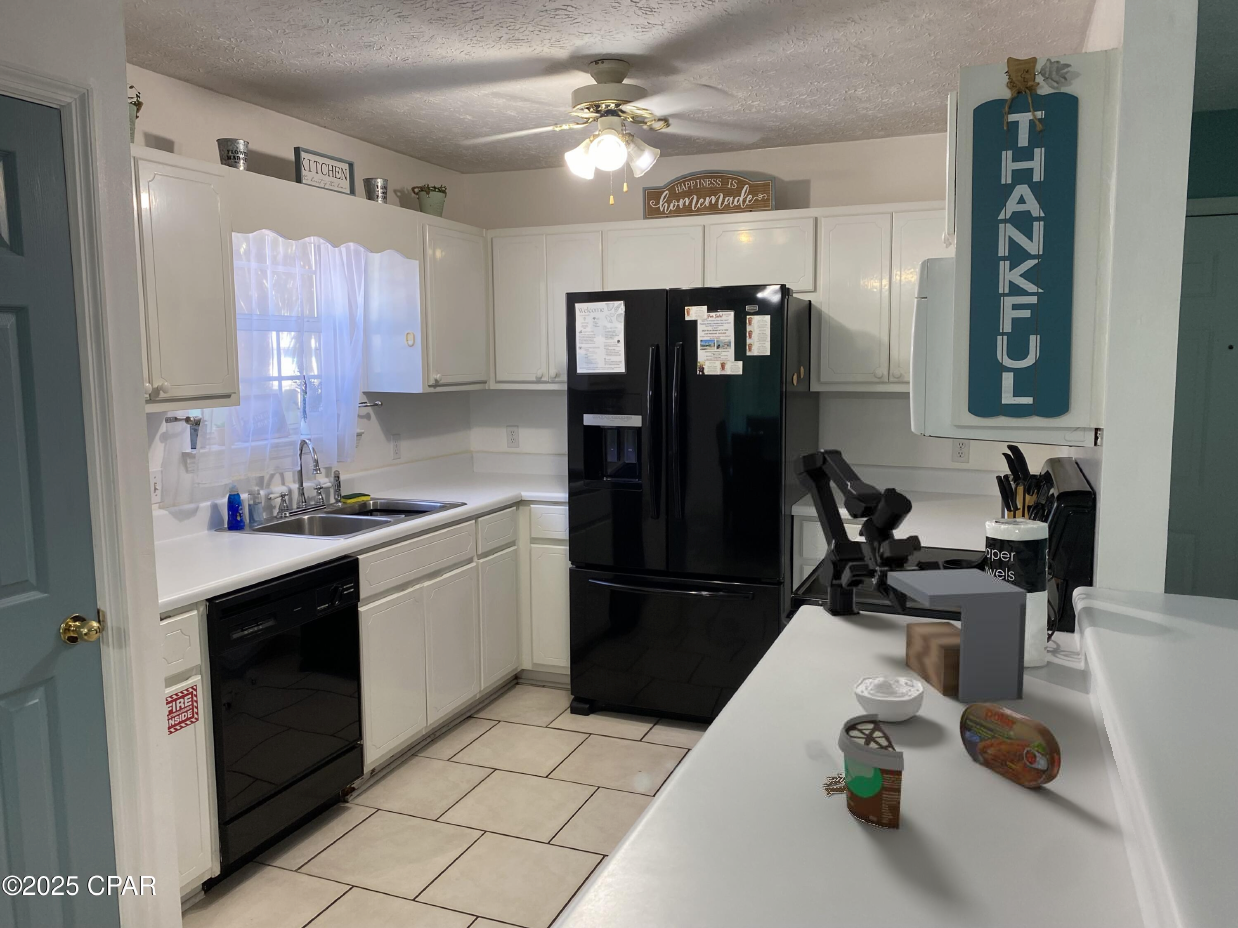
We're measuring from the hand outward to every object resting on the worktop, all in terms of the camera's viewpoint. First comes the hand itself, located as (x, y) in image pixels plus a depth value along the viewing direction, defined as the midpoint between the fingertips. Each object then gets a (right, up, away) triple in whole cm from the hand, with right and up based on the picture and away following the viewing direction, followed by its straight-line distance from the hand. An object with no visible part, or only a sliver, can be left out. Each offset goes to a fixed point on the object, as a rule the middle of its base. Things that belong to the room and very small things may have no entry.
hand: (903, 612), depth 169 cm
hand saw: (-26, -13, -45) cm, 53 cm away
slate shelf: (+2, -9, -18) cm, 20 cm away
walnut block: (+3, -9, -15) cm, 18 cm away
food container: (-24, -15, -59) cm, 66 cm away
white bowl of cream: (-12, -11, -31) cm, 35 cm away
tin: (-2, -13, -50) cm, 52 cm away
